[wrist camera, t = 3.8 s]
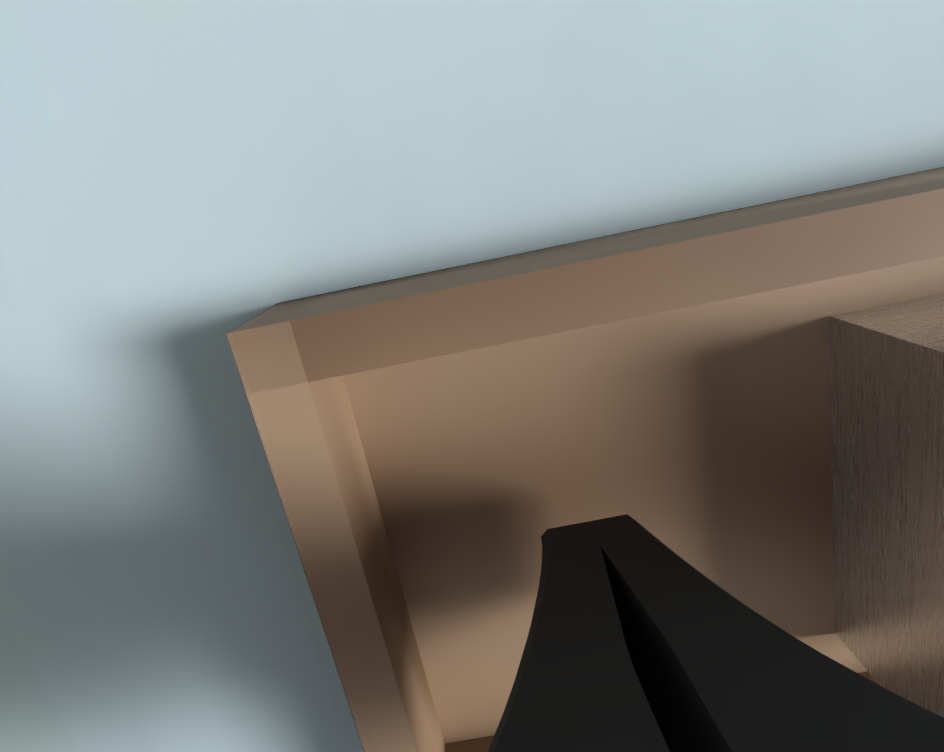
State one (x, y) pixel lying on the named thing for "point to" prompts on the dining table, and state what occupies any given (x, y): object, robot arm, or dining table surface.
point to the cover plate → (890, 493)
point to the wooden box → (569, 433)
